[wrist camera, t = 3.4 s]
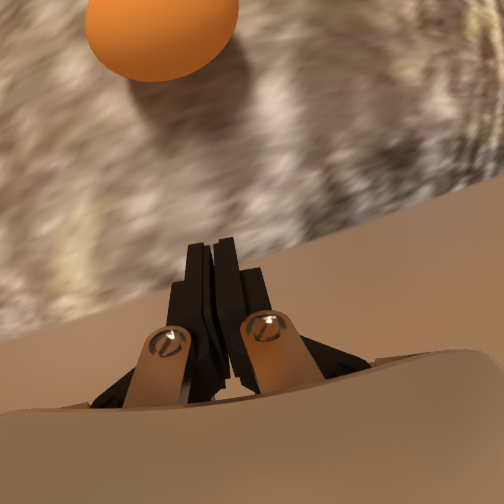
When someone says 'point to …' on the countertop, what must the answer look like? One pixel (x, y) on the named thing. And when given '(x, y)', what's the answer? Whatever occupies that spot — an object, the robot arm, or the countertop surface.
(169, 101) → the countertop surface
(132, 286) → the countertop surface
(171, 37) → the ball
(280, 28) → the countertop surface
